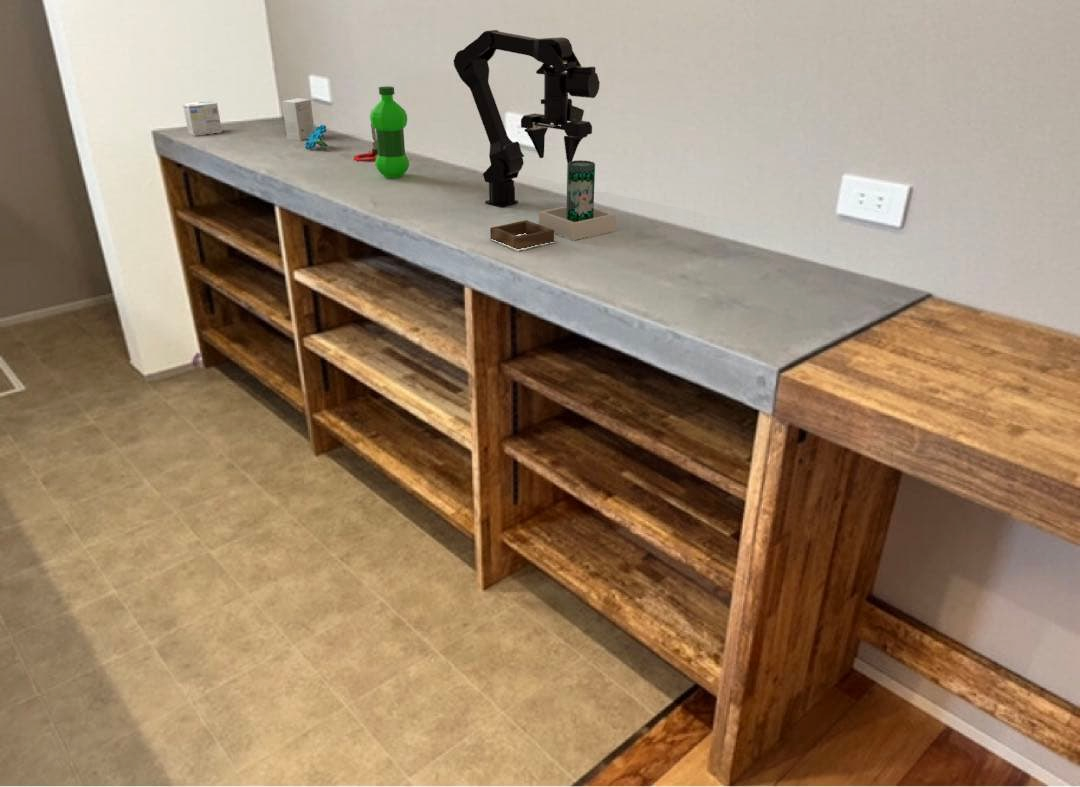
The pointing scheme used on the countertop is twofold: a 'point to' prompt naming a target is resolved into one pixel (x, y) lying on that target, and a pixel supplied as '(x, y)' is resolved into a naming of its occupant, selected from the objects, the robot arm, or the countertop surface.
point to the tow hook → (373, 153)
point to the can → (580, 190)
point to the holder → (533, 231)
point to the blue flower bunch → (316, 138)
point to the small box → (298, 118)
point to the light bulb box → (202, 118)
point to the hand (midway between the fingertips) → (555, 160)
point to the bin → (577, 223)
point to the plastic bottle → (390, 135)
